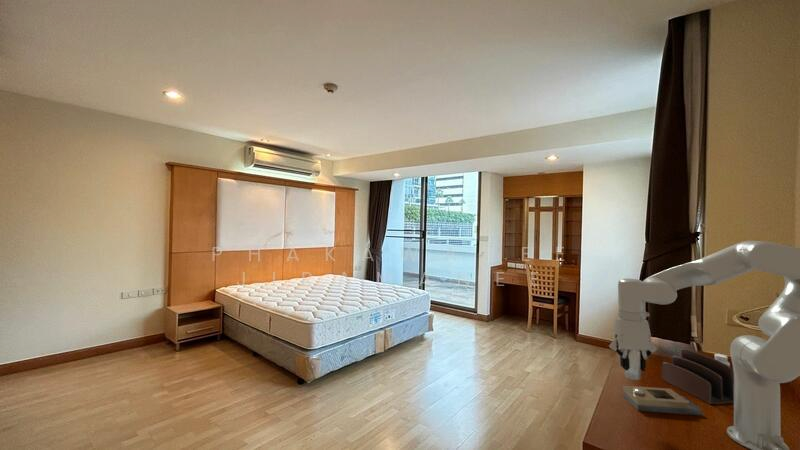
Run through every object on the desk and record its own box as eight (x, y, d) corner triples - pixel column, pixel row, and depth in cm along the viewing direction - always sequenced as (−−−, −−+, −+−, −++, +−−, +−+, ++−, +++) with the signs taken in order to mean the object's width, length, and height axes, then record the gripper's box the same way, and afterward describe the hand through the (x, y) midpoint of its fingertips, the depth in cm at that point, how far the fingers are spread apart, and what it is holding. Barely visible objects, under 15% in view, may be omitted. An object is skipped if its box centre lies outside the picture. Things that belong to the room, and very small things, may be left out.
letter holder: (683, 378, 140) (682, 345, 140) (735, 404, 120) (734, 365, 120) (661, 380, 139) (661, 346, 139) (710, 405, 119) (710, 366, 119)
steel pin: (644, 380, 109) (643, 350, 109) (629, 379, 110) (628, 349, 110) (636, 374, 113) (636, 345, 113) (622, 373, 114) (622, 345, 114)
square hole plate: (682, 400, 122) (682, 386, 122) (701, 415, 112) (701, 401, 112) (623, 395, 126) (623, 382, 126) (637, 410, 116) (637, 396, 116)
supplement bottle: (731, 382, 136) (731, 359, 136) (713, 379, 139) (713, 356, 139) (728, 377, 140) (728, 355, 140) (711, 374, 143) (711, 352, 143)
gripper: (652, 313, 114) (654, 365, 114) (600, 312, 117) (601, 363, 117) (666, 319, 107) (667, 375, 106) (610, 317, 109) (611, 372, 109)
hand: (633, 368), depth 112 cm, fingers closed on steel pin, 4 cm apart
